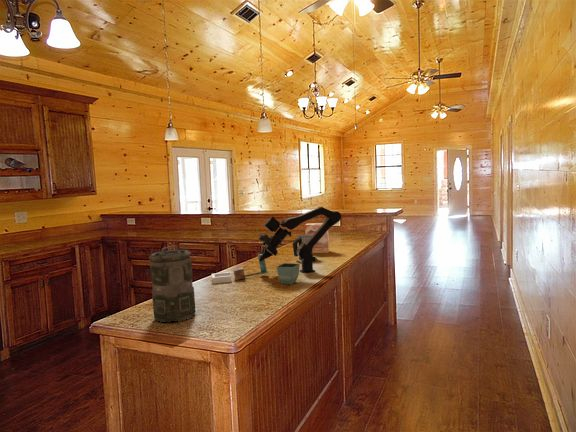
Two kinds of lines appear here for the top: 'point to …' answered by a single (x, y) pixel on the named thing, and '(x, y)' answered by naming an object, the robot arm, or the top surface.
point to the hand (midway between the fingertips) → (259, 260)
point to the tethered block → (240, 274)
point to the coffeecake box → (323, 243)
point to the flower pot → (288, 273)
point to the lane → (221, 277)
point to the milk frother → (301, 239)
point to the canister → (172, 285)
